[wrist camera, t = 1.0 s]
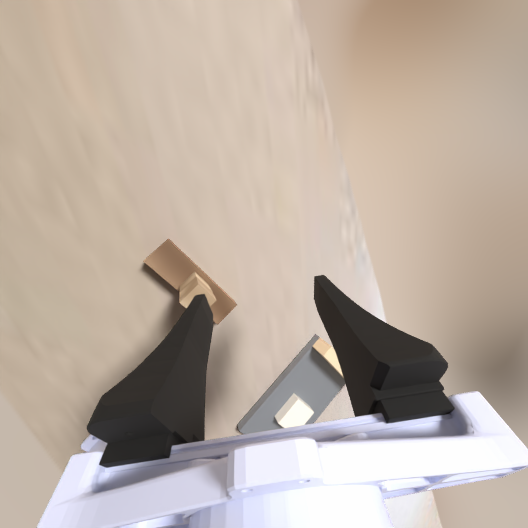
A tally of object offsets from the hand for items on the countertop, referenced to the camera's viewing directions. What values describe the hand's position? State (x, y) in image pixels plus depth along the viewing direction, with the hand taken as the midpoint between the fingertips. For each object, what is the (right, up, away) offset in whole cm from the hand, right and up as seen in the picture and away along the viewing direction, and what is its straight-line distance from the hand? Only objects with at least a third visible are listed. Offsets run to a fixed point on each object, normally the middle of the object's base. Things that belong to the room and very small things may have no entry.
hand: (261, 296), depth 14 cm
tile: (+4, -19, +16) cm, 25 cm away
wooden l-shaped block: (-8, 0, +10) cm, 12 cm away
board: (+5, -17, +17) cm, 25 cm away
